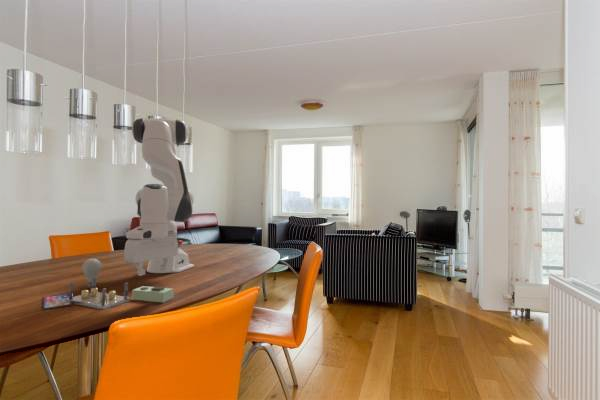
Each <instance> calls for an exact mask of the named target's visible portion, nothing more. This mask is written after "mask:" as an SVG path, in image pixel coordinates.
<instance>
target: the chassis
mask: <svg viewBox="0 0 600 400" xmlns="http://www.w3.org/2000/svg"><path fill="white" fill-rule="evenodd" d="M68 286H69V288H68V294H69V298H68V299H66V301H71V302H72V305H79V306H84V307H87V308H93V309H99V310H107V309H109V308H112V307H116V306H119V305H122V304H125V303H128V302H131V301H132V297H129V295H128V294H129V282H124V289H123V292H124V295H117V291H116V290H109V291H108V293H107V288H105V287H104V288H102V289H101V290H102V291H101V292H100V291H99V289H98V287H97V280H96V278H93V285H92V288H90V290H89V289H83V290H81V295H75V296H74V283H73V282H69V285H68Z"/></svg>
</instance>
